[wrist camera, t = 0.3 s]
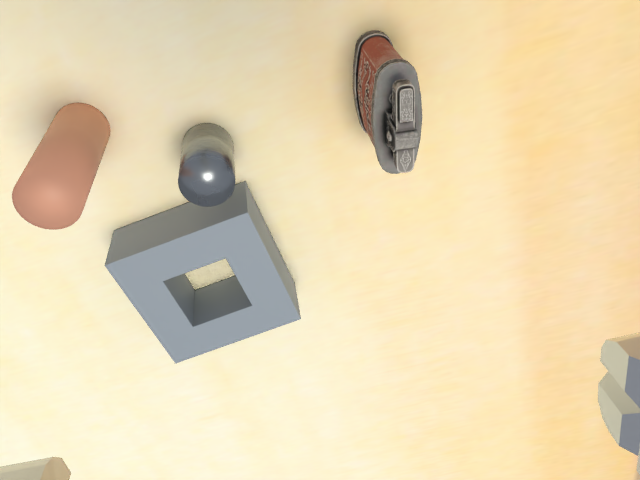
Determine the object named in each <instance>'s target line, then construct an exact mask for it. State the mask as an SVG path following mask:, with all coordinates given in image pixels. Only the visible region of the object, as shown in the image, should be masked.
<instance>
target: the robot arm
mask: <svg viewBox="0 0 640 480" xmlns="http://www.w3.org/2000/svg"><path fill="white" fill-rule="evenodd" d="M600 361H601V362H602V364H603V365H604V366H605V367H606V369H607V370H608V372H607V374H606V375H605V376H604V377H603V379H602V380H601V381H600V382H599V386H598V402H599V406H600V410H601V414H602V418H603V420H604V422H605V424H606V426H607V428H608V430H609V432H610V433H611V435H612V436H613V438H614V439H615V441H616V442H617V444H618V445H619V446H620V447H622V448H624V449H626V450H628V451H630V452H632V453H634V454H636V455H638V463H637V472H638V473H639V475H640V333H635V334H630V335H626V336H621V337H617V338H612V339H608V340H606V341H605V343H604V344H603V346H602V349H601V360H600ZM70 475H71V472H70V470H69V469H68V467H67V466H66V464H65V462H64V461H63V459H62V458H57V457H51V458H45V459H40V460H34V461H29V462H24V463H18V464H13V465H8V466H2V467H0V480H69V478H70Z"/></svg>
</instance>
